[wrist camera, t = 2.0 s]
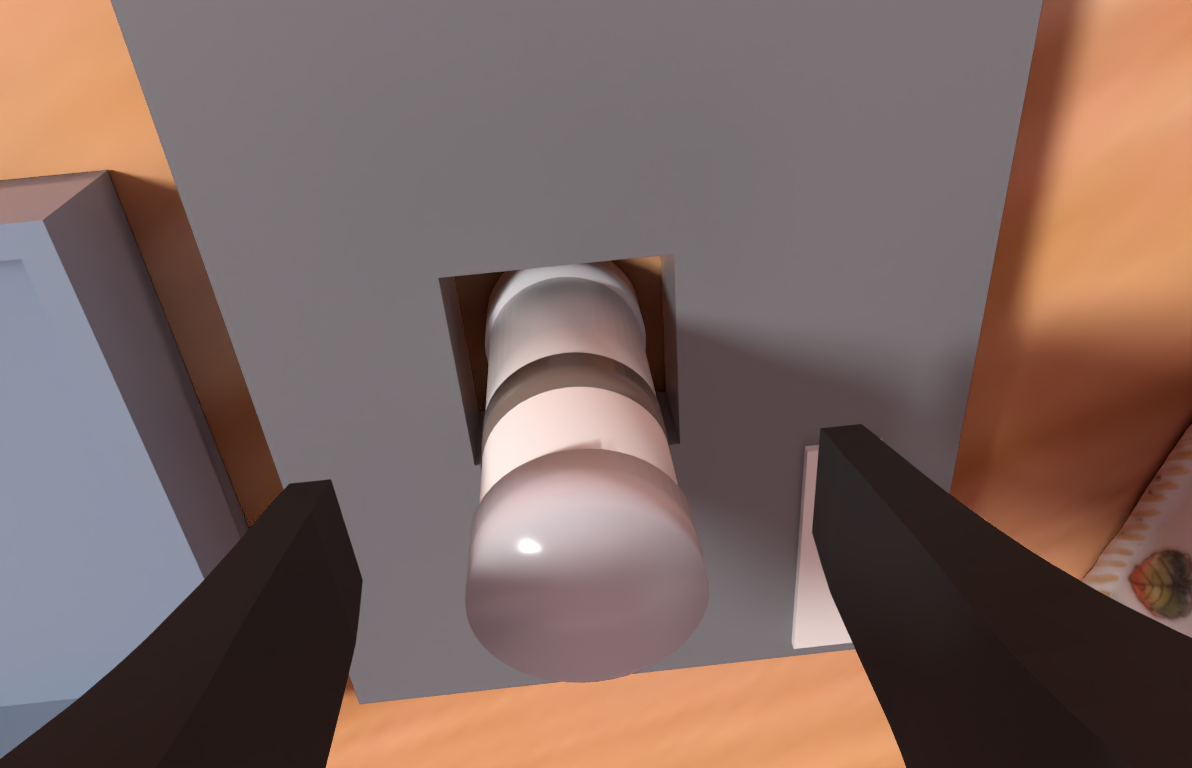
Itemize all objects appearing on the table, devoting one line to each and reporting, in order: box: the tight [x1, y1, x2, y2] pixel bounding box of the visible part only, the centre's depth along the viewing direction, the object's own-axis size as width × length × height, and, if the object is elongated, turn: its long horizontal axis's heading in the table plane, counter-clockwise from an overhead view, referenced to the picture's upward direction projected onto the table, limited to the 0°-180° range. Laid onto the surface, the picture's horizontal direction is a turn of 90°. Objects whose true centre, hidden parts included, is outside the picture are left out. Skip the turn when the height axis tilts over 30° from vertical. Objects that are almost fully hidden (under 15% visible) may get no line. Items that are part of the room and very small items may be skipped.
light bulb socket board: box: [111, 0, 1043, 704], centre depth 17 cm, size 16×14×2 cm
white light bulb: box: [465, 261, 710, 682], centre depth 15 cm, size 3×3×8 cm
